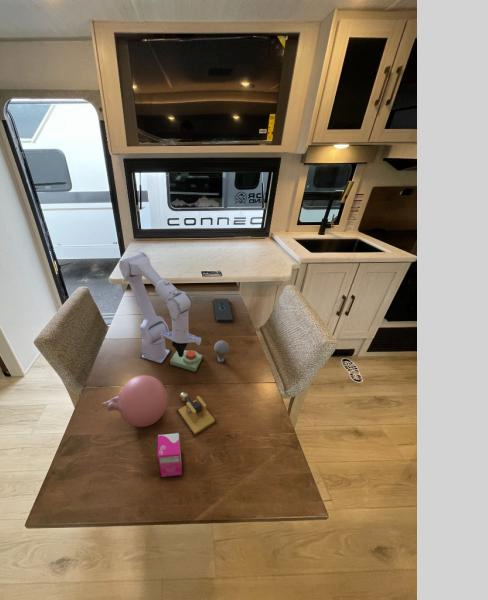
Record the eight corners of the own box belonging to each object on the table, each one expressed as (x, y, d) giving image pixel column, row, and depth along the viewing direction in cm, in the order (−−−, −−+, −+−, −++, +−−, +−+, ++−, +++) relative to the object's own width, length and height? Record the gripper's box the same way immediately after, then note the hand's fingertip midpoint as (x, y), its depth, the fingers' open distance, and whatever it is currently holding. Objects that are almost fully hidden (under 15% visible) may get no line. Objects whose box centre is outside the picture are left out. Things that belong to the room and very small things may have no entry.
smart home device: (228, 298, 148) (233, 319, 131) (227, 300, 149) (233, 322, 132) (213, 298, 148) (216, 319, 131) (213, 300, 149) (216, 322, 132)
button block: (170, 364, 108) (169, 357, 106) (178, 351, 114) (178, 344, 112) (195, 372, 104) (195, 365, 102) (202, 358, 111) (202, 351, 109)
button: (184, 358, 106) (184, 355, 105) (188, 352, 109) (188, 349, 108) (193, 360, 105) (193, 357, 104) (196, 354, 108) (196, 351, 107)
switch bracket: (178, 411, 90) (177, 398, 86) (197, 400, 93) (197, 387, 90) (194, 435, 83) (194, 422, 79) (214, 422, 86) (215, 409, 83)
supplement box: (160, 456, 77) (158, 433, 71) (180, 454, 78) (180, 432, 71) (160, 478, 72) (157, 456, 66) (182, 476, 73) (181, 454, 67)
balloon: (109, 401, 93) (101, 370, 85) (166, 392, 96) (163, 362, 88) (105, 443, 80) (95, 412, 72) (170, 432, 83) (168, 401, 75)
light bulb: (227, 366, 107) (229, 348, 102) (212, 364, 108) (213, 346, 103) (228, 356, 112) (230, 338, 106) (214, 354, 113) (215, 336, 108)
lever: (179, 400, 93) (177, 392, 92) (186, 396, 94) (184, 389, 94) (195, 415, 84) (193, 408, 83) (203, 411, 85) (201, 403, 84)
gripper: (203, 322, 92) (202, 351, 100) (164, 316, 96) (166, 344, 103) (198, 334, 87) (198, 364, 94) (157, 327, 90) (160, 357, 97)
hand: (181, 355), depth 98 cm, fingers closed
